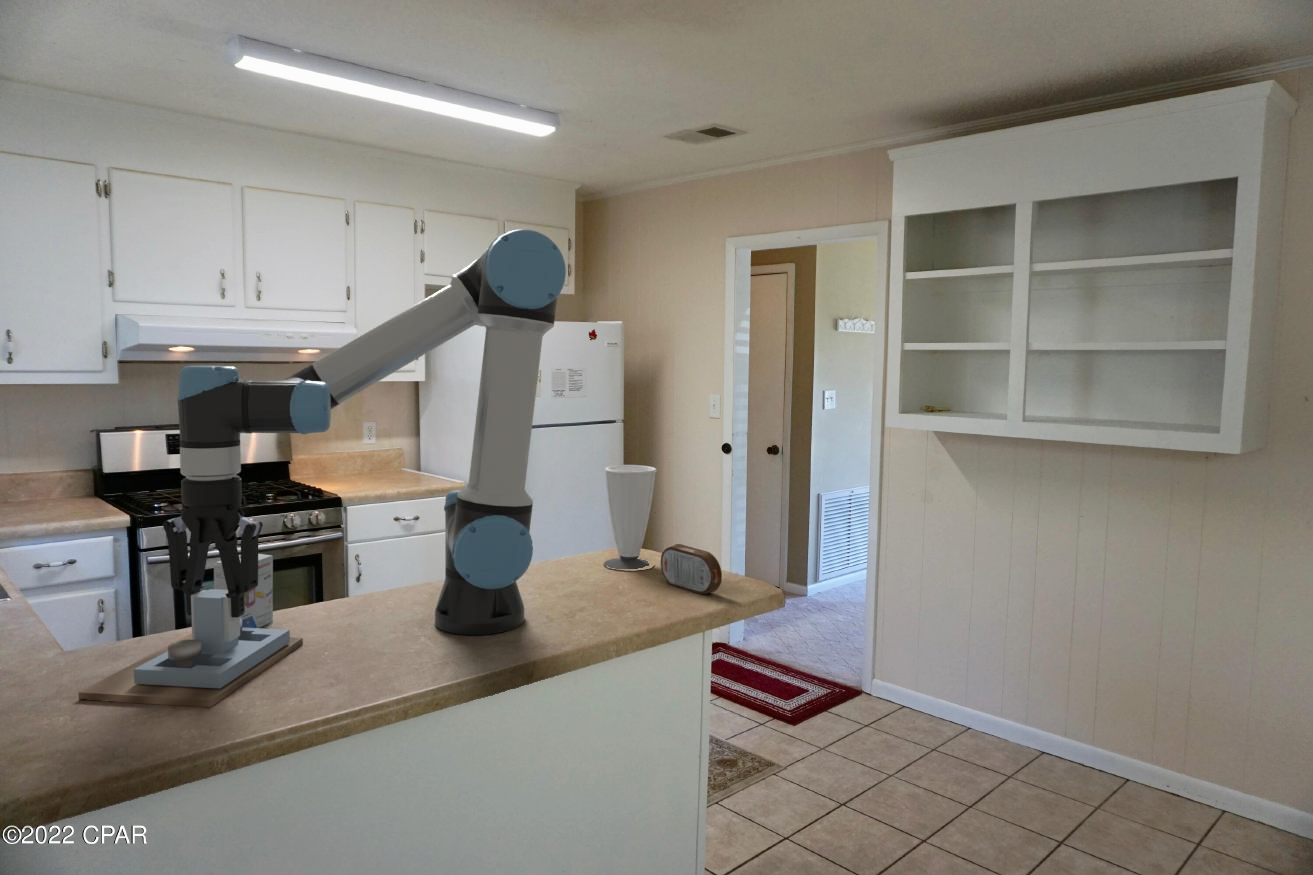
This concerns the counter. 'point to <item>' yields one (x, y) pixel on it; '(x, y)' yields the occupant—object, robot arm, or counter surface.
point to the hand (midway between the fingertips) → (216, 637)
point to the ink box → (254, 593)
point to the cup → (629, 511)
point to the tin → (691, 569)
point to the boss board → (183, 651)
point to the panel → (215, 662)
